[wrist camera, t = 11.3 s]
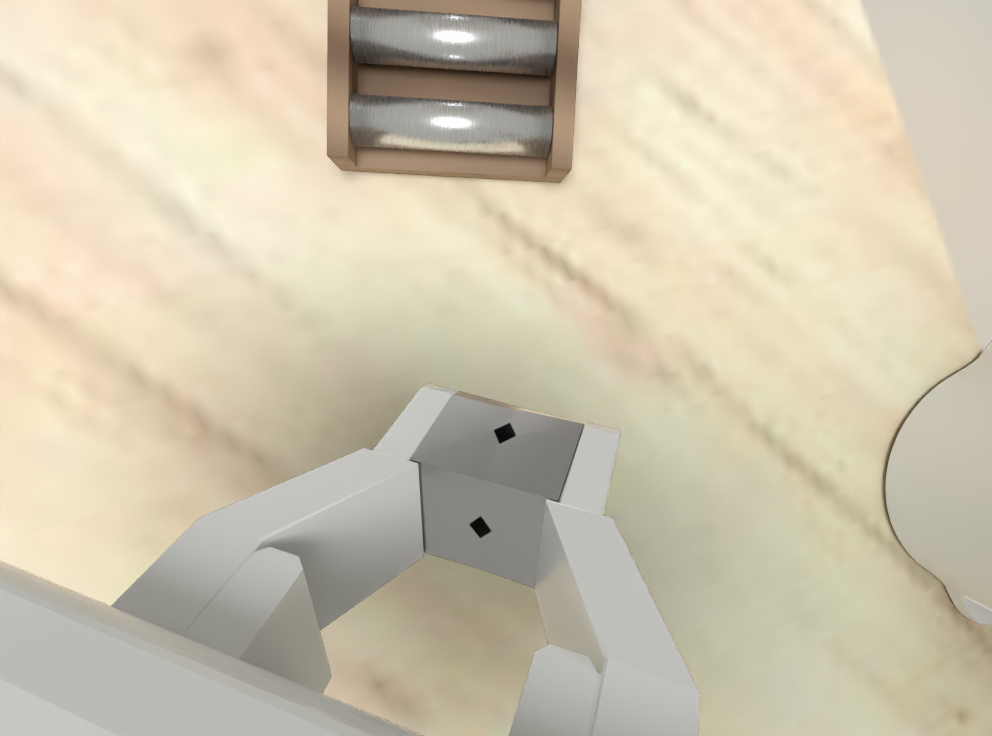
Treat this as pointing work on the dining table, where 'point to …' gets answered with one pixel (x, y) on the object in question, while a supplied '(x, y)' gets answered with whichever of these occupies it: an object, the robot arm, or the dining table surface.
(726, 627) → the dining table surface
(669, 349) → the dining table surface
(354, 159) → the roller track
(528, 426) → the robot arm
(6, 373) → the dining table surface
